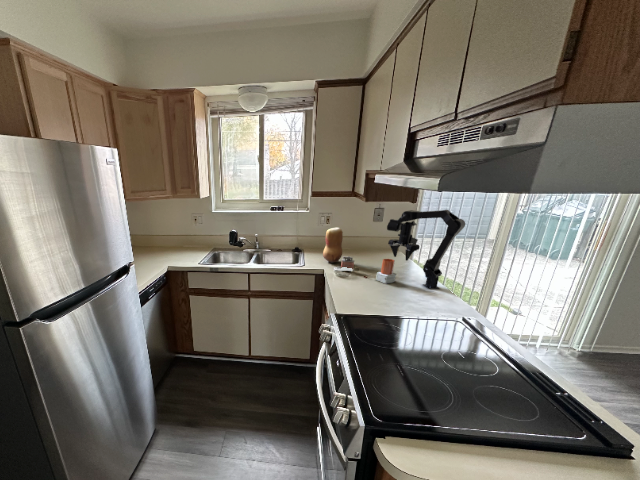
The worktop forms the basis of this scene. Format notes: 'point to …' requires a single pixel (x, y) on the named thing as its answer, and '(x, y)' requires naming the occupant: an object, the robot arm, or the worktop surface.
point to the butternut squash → (333, 245)
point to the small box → (385, 277)
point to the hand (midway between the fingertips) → (400, 258)
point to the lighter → (348, 262)
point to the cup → (387, 266)
